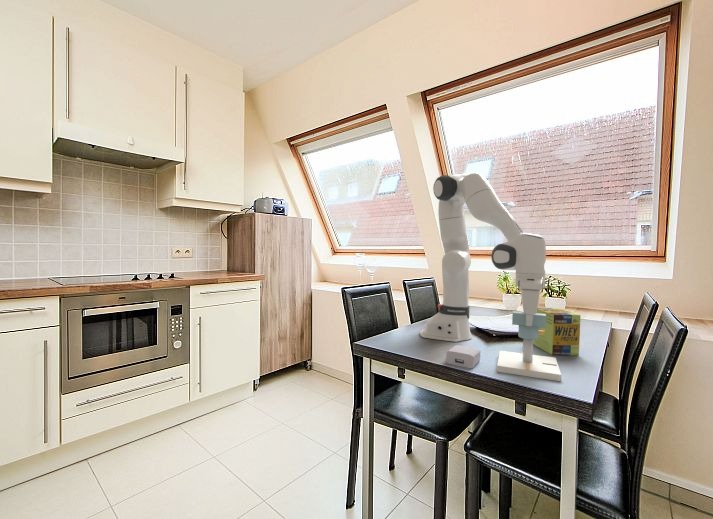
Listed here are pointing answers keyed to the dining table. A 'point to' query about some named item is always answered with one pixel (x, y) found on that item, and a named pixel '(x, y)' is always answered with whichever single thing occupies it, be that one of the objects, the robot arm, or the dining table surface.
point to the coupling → (529, 331)
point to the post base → (528, 363)
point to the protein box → (559, 332)
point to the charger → (463, 356)
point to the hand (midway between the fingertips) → (528, 322)
